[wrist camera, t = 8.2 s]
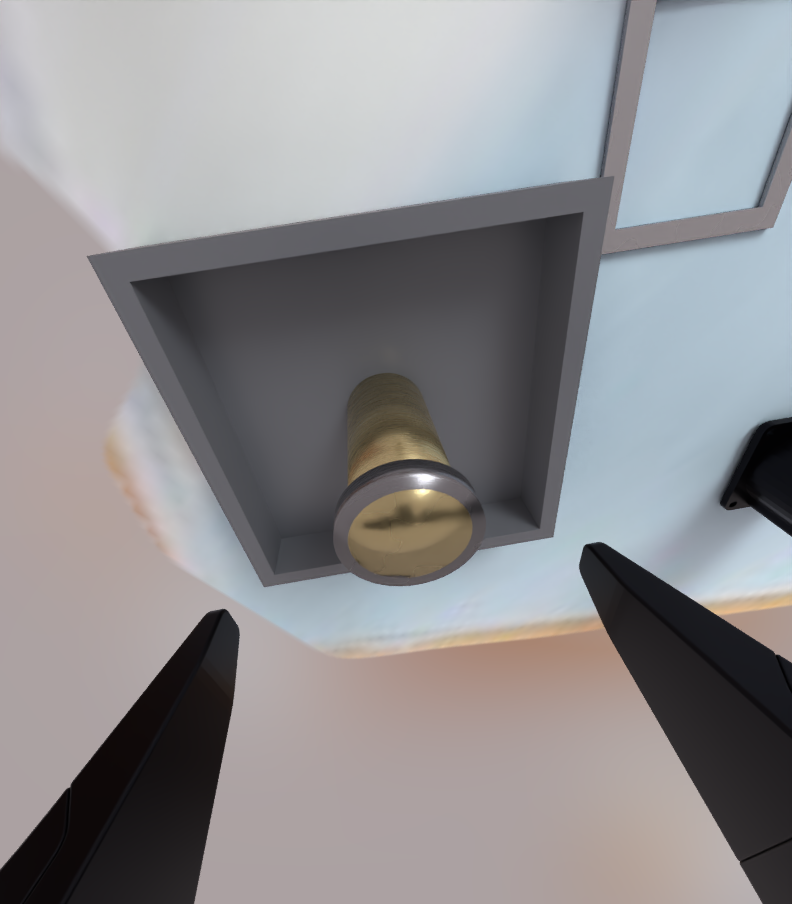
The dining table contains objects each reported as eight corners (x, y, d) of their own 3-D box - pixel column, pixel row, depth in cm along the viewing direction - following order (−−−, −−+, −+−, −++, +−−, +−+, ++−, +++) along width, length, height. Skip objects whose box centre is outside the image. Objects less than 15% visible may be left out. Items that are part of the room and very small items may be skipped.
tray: (529, 498, 22) (553, 537, 20) (273, 542, 22) (264, 587, 19) (563, 181, 13) (614, 175, 11) (138, 247, 13) (86, 256, 11)
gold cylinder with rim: (435, 440, 18) (485, 572, 12) (348, 455, 18) (350, 596, 12) (428, 356, 16) (487, 463, 9) (328, 373, 16) (316, 492, 9)
